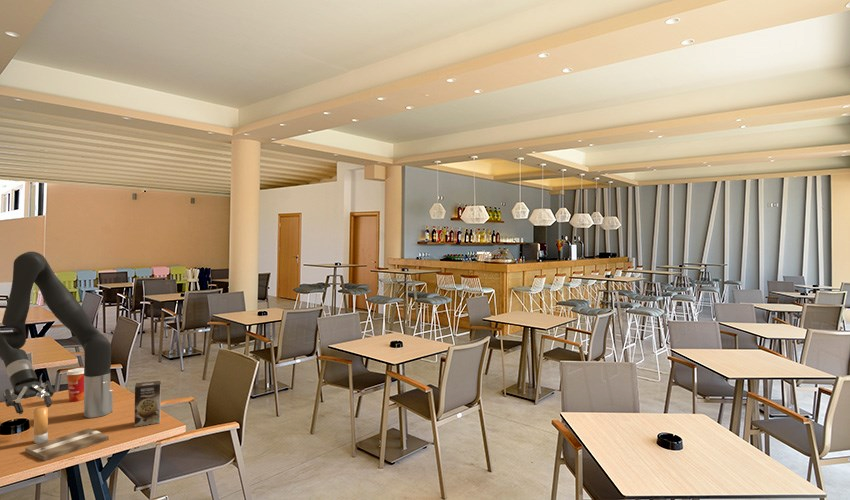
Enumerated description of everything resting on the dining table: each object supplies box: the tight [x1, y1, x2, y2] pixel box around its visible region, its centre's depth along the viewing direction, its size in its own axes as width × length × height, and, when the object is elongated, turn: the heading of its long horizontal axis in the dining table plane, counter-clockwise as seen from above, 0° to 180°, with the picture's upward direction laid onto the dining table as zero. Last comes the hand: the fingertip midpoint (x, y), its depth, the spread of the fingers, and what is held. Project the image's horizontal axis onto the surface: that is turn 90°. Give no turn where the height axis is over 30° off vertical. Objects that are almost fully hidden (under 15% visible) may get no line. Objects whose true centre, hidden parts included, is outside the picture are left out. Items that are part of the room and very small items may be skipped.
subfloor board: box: [24, 427, 109, 462], centre depth 170 cm, size 20×14×2 cm
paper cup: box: [66, 367, 84, 403], centre depth 220 cm, size 8×8×14 cm
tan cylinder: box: [33, 406, 49, 444], centre depth 174 cm, size 4×4×12 cm
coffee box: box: [133, 380, 162, 428], centre depth 192 cm, size 9×6×16 cm
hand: (35, 409), depth 176 cm, fingers open, 8 cm apart
